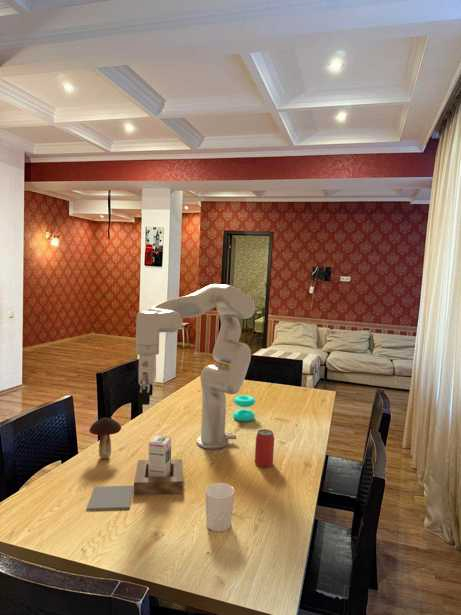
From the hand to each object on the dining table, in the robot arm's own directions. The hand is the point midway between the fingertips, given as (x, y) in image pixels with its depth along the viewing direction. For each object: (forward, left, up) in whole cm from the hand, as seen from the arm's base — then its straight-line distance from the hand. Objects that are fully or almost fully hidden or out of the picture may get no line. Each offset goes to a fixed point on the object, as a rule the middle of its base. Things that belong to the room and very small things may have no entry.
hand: (146, 399), depth 142 cm
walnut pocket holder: (-5, +6, -26) cm, 27 cm away
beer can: (-42, -5, -26) cm, 50 cm away
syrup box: (-5, +6, -26) cm, 27 cm away
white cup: (-22, +30, -26) cm, 45 cm away
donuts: (-42, -51, -26) cm, 71 cm away
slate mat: (+9, +15, -26) cm, 31 cm away
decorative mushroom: (+15, -12, -26) cm, 32 cm away
